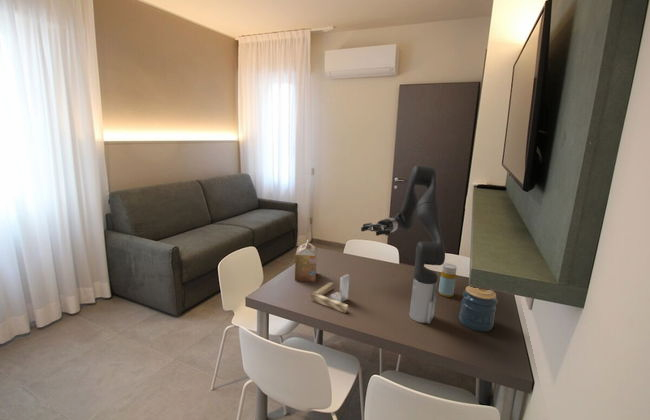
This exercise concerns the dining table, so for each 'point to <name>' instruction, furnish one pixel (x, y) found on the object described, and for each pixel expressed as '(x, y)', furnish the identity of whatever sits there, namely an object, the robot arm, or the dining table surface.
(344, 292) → the bracket
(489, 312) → the canister
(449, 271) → the bottle
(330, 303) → the wooden l-shaped corner
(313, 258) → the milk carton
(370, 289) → the dining table surface
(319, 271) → the dining table surface
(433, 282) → the robot arm
